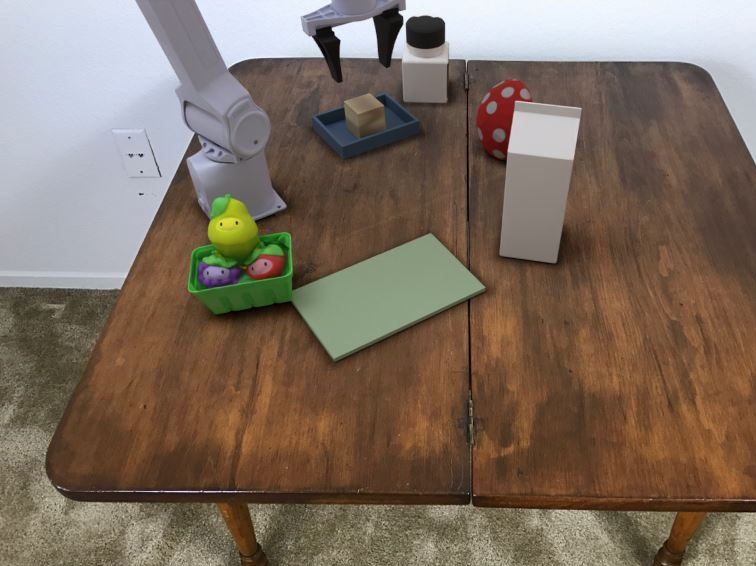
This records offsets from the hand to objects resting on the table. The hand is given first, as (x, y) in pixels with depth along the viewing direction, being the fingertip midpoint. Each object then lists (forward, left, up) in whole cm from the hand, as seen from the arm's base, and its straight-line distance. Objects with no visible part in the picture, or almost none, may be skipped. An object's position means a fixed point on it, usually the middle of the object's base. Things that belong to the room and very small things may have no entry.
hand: (361, 72), depth 96 cm
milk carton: (+5, -34, -10) cm, 36 cm away
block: (0, 0, -9) cm, 9 cm away
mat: (-15, -32, -10) cm, 37 cm away
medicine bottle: (+14, +5, -10) cm, 18 cm away
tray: (0, 0, -10) cm, 10 cm away
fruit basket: (-28, -23, -10) cm, 37 cm away
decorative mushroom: (+17, -17, -10) cm, 26 cm away
